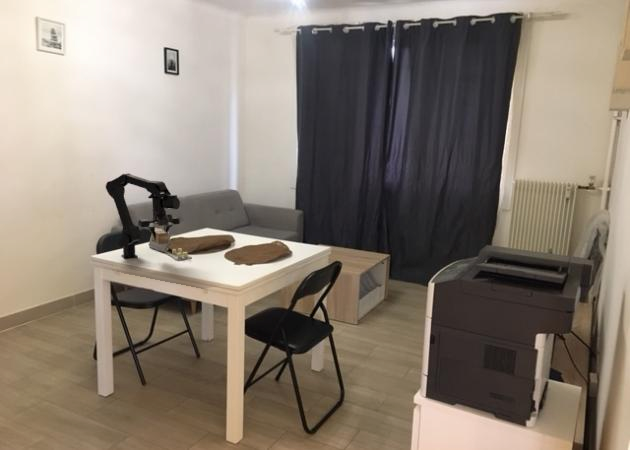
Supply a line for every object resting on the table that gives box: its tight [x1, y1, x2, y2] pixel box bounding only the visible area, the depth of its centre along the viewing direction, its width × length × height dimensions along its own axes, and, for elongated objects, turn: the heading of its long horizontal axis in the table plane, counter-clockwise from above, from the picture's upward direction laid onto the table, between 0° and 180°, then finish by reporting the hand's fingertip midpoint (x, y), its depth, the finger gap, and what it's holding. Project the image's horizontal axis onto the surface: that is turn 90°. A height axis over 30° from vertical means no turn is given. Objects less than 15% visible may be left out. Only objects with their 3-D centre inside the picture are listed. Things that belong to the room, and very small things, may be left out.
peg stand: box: [168, 248, 192, 261], centre depth 258 cm, size 12×8×3 cm, turn 34°
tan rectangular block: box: [151, 228, 168, 244], centre depth 248 cm, size 12×4×5 cm, turn 33°
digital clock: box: [148, 227, 172, 253], centre depth 271 cm, size 16×9×11 cm, turn 35°
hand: (159, 239), depth 248 cm, fingers closed on tan rectangular block, 4 cm apart
